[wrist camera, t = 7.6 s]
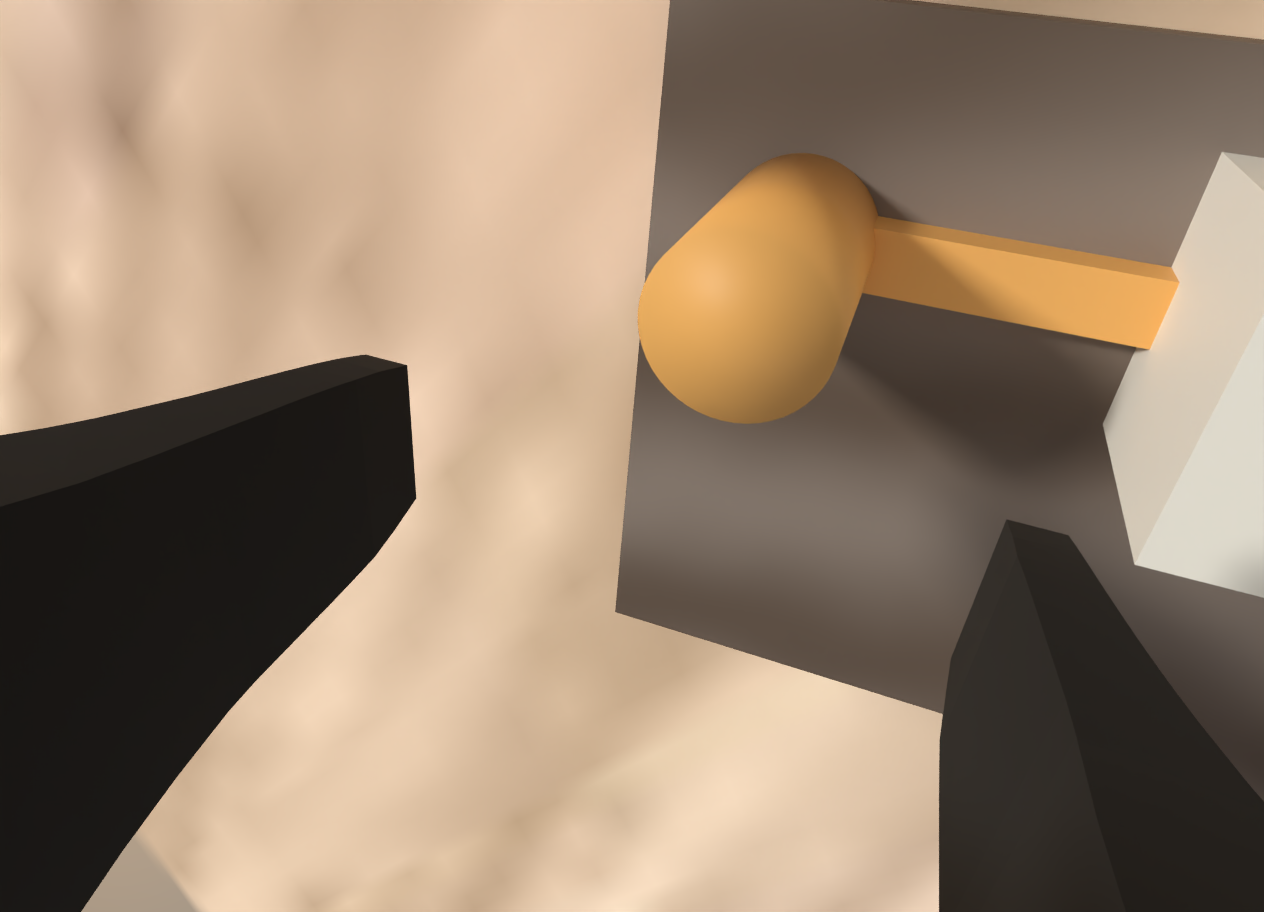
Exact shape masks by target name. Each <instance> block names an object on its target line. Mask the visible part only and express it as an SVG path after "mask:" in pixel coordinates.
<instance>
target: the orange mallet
mask: <svg viewBox="0 0 1264 912" xmlns="http://www.w3.org/2000/svg"><path fill="white" fill-rule="evenodd" d="M862 293H866V294H871V295H876V296H881V297H886V298H891V299H896V300H901V301H906V302H911V303H916V304H921V305H926V306H931V307H936V308H941V309H946V310H951V311H957V312H962V313H967V314H972V315H977V316H982V317H987V318H992V319H997V320H1002V321H1007V322H1012V323H1017V324H1022V325H1027V326H1032V327H1037V328H1042V329H1047V330H1053V331H1058V332H1063V333H1068V334H1073V335H1078V336H1083V337H1088V338H1093V339H1098V340H1103V341H1108V342H1113V343H1118V344H1123V345H1128V346H1133V347H1136V349H1135V352H1134V354H1133V356H1132V358H1131V361H1130V363H1129V365H1128V368H1127V370H1126V372H1125V374H1124V377H1123V379H1122V381H1121V384H1120V386H1119V388H1118V390H1117V393H1116V395H1115V397H1114V400H1113V402H1112V404H1111V406H1110V409H1109V411H1108V413H1107V416H1106V418H1105V420H1104V422H1103V427H1104V432H1105V436H1106V441H1107V445H1108V450H1109V454H1110V458H1111V463H1112V467H1113V472H1114V476H1115V481H1116V485H1117V489H1118V494H1119V498H1120V503H1121V507H1122V512H1123V516H1124V520H1125V525H1126V529H1127V534H1128V538H1129V542H1130V547H1131V551H1132V556H1133V560H1134V565H1138V566H1142V567H1145V568H1149V569H1153V570H1157V571H1161V572H1165V573H1169V574H1173V575H1177V576H1181V577H1185V578H1188V579H1192V580H1196V581H1200V582H1204V583H1208V584H1212V585H1216V586H1220V587H1224V588H1228V589H1231V590H1235V591H1239V592H1243V593H1247V594H1251V595H1255V596H1259V597H1263V598H1264V158H1261V157H1254V156H1247V155H1240V154H1233V153H1226V152H1222V153H1221V155H1220V158H1219V160H1218V162H1217V164H1216V167H1215V169H1214V171H1213V174H1212V176H1211V178H1210V180H1209V183H1208V185H1207V187H1206V190H1205V192H1204V194H1203V196H1202V199H1201V201H1200V203H1199V206H1198V208H1197V210H1196V212H1195V215H1194V217H1193V219H1192V222H1191V224H1190V226H1189V228H1188V231H1187V233H1186V235H1185V238H1184V240H1183V242H1182V244H1181V247H1180V249H1179V251H1178V253H1177V256H1176V258H1175V260H1174V263H1173V265H1172V267H1167V266H1161V265H1155V264H1149V263H1144V262H1138V261H1132V260H1126V259H1121V258H1115V257H1109V256H1104V255H1098V254H1092V253H1086V252H1081V251H1075V250H1069V249H1064V248H1058V247H1052V246H1046V245H1041V244H1035V243H1029V242H1024V241H1018V240H1012V239H1006V238H1001V237H995V236H989V235H984V234H978V233H972V232H966V231H961V230H955V229H949V228H944V227H938V226H932V225H926V224H921V223H915V222H909V221H904V220H898V219H892V218H886V217H881V216H878V213H877V209H876V206H875V203H874V201H873V198H872V196H871V194H870V193H869V191H868V189H867V187H866V186H865V185H864V184H863V182H862V181H861V180H860V179H859V178H858V177H857V176H856V175H855V174H854V173H853V172H852V171H851V170H849V169H848V168H847V167H845V166H844V165H842V164H841V163H839V162H837V161H835V160H833V159H830V158H827V157H825V156H821V155H817V154H810V153H792V154H786V155H781V156H778V157H775V158H772V159H770V160H768V161H766V162H764V163H762V164H760V165H759V166H757V167H756V168H754V169H753V170H752V171H750V172H749V173H748V174H747V175H746V176H745V177H744V178H743V179H742V180H741V181H740V182H739V183H738V184H737V185H736V186H735V187H733V188H732V189H731V190H730V191H729V192H728V193H727V194H726V195H725V196H724V197H723V198H722V199H721V200H720V201H719V202H718V203H717V204H716V205H715V206H714V207H713V208H712V209H711V210H710V211H709V212H708V213H707V214H706V215H705V216H704V217H702V218H701V219H700V220H699V221H698V222H697V223H696V224H695V225H694V226H693V227H692V228H691V229H690V230H689V231H688V232H687V233H686V234H685V235H684V236H683V237H682V238H681V239H680V240H679V241H678V242H677V243H676V244H675V245H674V246H673V247H672V248H670V249H669V250H668V251H667V252H666V253H665V254H664V255H663V256H662V258H661V259H660V260H659V261H658V262H657V263H656V264H655V266H654V268H653V269H652V271H651V272H650V274H649V275H648V278H647V280H646V282H645V284H644V286H643V290H642V293H641V296H640V301H639V308H638V329H639V336H640V340H641V345H642V348H643V351H644V353H645V356H646V359H647V361H648V362H649V364H650V366H651V368H652V370H653V372H654V373H655V374H656V376H657V377H658V379H659V380H660V381H661V383H662V384H663V385H664V386H665V387H666V388H667V390H669V391H670V392H671V393H672V394H673V395H674V396H675V397H676V398H677V399H679V400H680V401H681V402H683V403H684V404H685V405H687V406H689V407H690V408H692V409H694V410H695V411H697V412H699V413H702V414H704V415H706V416H709V417H711V418H715V419H718V420H721V421H726V422H732V423H742V424H752V423H763V422H768V421H773V420H776V419H779V418H782V417H785V416H787V415H789V414H791V413H794V412H795V411H797V410H799V409H800V408H802V407H803V406H805V405H806V404H807V403H809V402H810V401H811V400H812V399H813V398H814V397H815V396H816V395H817V394H818V393H819V392H820V391H821V390H822V389H823V387H824V386H825V384H826V383H827V381H828V380H829V378H830V376H831V374H832V372H833V370H834V368H835V366H836V363H837V360H838V358H839V355H840V352H841V349H842V347H843V344H844V341H845V338H846V336H847V333H848V330H849V327H850V325H851V322H852V319H853V317H854V314H855V311H856V308H857V306H858V303H859V300H860V297H861V295H862Z"/></svg>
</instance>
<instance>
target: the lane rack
mask: <svg viewBox="0 0 1264 912" xmlns="http://www.w3.org/2000/svg"><path fill="white" fill-rule="evenodd" d="M1222 152H1226V153H1233V154H1240V155H1247V156H1254V157H1261V158H1264V40H1261V39H1252V38H1243V37H1234V36H1225V35H1216V34H1207V33H1198V32H1189V31H1180V30H1171V29H1162V28H1153V27H1144V26H1135V25H1126V24H1117V23H1108V22H1100V21H1091V20H1082V19H1073V18H1064V17H1055V16H1046V15H1037V14H1028V13H1019V12H1010V11H1001V10H992V9H983V8H974V7H965V6H956V5H948V4H939V3H930V2H921V1H912V0H670V8H669V19H668V30H667V41H666V52H665V63H664V75H663V86H662V97H661V108H660V119H659V130H658V142H657V153H656V164H655V175H654V186H653V197H652V209H651V220H650V231H649V242H648V253H647V264H646V276H645V282H646V280H647V278H648V275H649V274H650V272H651V271H652V269H653V268H654V266H655V264H656V263H657V262H658V261H659V260H660V259H661V258H662V256H663V255H664V254H665V253H666V252H667V251H668V250H669V249H670V248H672V247H673V246H674V245H675V244H676V243H677V242H678V241H679V240H680V239H681V238H682V237H683V236H684V235H685V234H686V233H687V232H688V231H689V230H690V229H691V228H692V227H693V226H694V225H695V224H696V223H697V222H698V221H699V220H700V219H701V218H702V217H704V216H705V215H706V214H707V213H708V212H709V211H710V210H711V209H712V208H713V207H714V206H715V205H716V204H717V203H718V202H719V201H720V200H721V199H722V198H723V197H724V196H725V195H726V194H727V193H728V192H729V191H730V190H731V189H732V188H733V187H735V186H736V185H737V184H738V183H739V182H740V181H741V180H742V179H743V178H744V177H745V176H746V175H747V174H748V173H749V172H750V171H752V170H753V169H754V168H756V167H757V166H759V165H760V164H762V163H764V162H766V161H768V160H770V159H772V158H775V157H778V156H781V155H786V154H792V153H810V154H817V155H821V156H825V157H827V158H830V159H833V160H835V161H837V162H839V163H841V164H842V165H844V166H845V167H847V168H848V169H849V170H851V171H852V172H853V173H854V174H855V175H856V176H857V177H858V178H859V179H860V180H861V181H862V182H863V184H864V185H865V186H866V187H867V189H868V191H869V193H870V194H871V196H872V198H873V201H874V203H875V206H876V209H877V213H878V216H881V217H886V218H892V219H898V220H904V221H909V222H915V223H921V224H926V225H932V226H938V227H944V228H949V229H955V230H961V231H966V232H972V233H978V234H984V235H989V236H995V237H1001V238H1006V239H1012V240H1018V241H1024V242H1029V243H1035V244H1041V245H1046V246H1052V247H1058V248H1064V249H1069V250H1075V251H1081V252H1086V253H1092V254H1098V255H1104V256H1109V257H1115V258H1121V259H1126V260H1132V261H1138V262H1144V263H1149V264H1155V265H1161V266H1167V267H1172V265H1173V263H1174V260H1175V258H1176V256H1177V253H1178V251H1179V249H1180V247H1181V244H1182V242H1183V240H1184V238H1185V235H1186V233H1187V231H1188V228H1189V226H1190V224H1191V222H1192V219H1193V217H1194V215H1195V212H1196V210H1197V208H1198V206H1199V203H1200V201H1201V199H1202V196H1203V194H1204V192H1205V190H1206V187H1207V185H1208V183H1209V180H1210V178H1211V176H1212V174H1213V171H1214V169H1215V167H1216V164H1217V162H1218V160H1219V158H1220V155H1221V153H1222ZM1135 349H1136V347H1133V346H1128V345H1123V344H1118V343H1113V342H1108V341H1103V340H1098V339H1093V338H1088V337H1083V336H1078V335H1073V334H1068V333H1063V332H1058V331H1053V330H1047V329H1042V328H1037V327H1032V326H1027V325H1022V324H1017V323H1012V322H1007V321H1002V320H997V319H992V318H987V317H982V316H977V315H972V314H967V313H962V312H957V311H951V310H946V309H941V308H936V307H931V306H926V305H921V304H916V303H911V302H906V301H901V300H896V299H891V298H886V297H881V296H876V295H871V294H866V293H862V295H861V297H860V300H859V303H858V306H857V308H856V311H855V314H854V317H853V319H852V322H851V325H850V327H849V330H848V333H847V336H846V338H845V341H844V344H843V347H842V349H841V352H840V355H839V358H838V360H837V363H836V366H835V368H834V370H833V372H832V374H831V376H830V378H829V380H828V381H827V383H826V384H825V386H824V387H823V389H822V390H821V391H820V392H819V393H818V394H817V395H816V396H815V397H814V398H813V399H812V400H811V401H810V402H809V403H807V404H806V405H805V406H803V407H802V408H800V409H799V410H797V411H795V412H794V413H791V414H789V415H787V416H785V417H782V418H779V419H776V420H773V421H768V422H763V423H752V424H742V423H732V422H726V421H721V420H718V419H715V418H711V417H709V416H706V415H704V414H702V413H699V412H697V411H695V410H694V409H692V408H690V407H689V406H687V405H685V404H684V403H683V402H681V401H680V400H679V399H677V398H676V397H675V396H674V395H673V394H672V393H671V392H670V391H669V390H667V388H666V387H665V386H664V385H663V384H662V383H661V381H660V380H659V379H658V377H657V376H656V374H655V373H654V372H653V370H652V368H651V366H650V364H649V362H648V361H647V359H646V356H645V353H644V351H643V348H642V345H641V340H640V343H639V354H638V365H637V376H636V387H635V398H634V410H633V421H632V432H631V443H630V454H629V465H628V476H627V488H626V499H625V510H624V521H623V532H622V543H621V555H620V566H619V577H618V588H617V599H616V610H615V612H617V613H621V614H624V615H627V616H630V617H633V618H637V619H640V620H643V621H646V622H649V623H653V624H656V625H659V626H662V627H665V628H669V629H672V630H675V631H678V632H682V633H685V634H688V635H691V636H694V637H698V638H701V639H704V640H707V641H710V642H714V643H717V644H720V645H723V646H726V647H730V648H733V649H736V650H739V651H743V652H746V653H749V654H752V655H755V656H759V657H762V658H765V659H768V660H771V661H775V662H778V663H781V664H784V665H787V666H791V667H794V668H797V669H800V670H804V671H807V672H810V673H813V674H816V675H820V676H823V677H826V678H829V679H832V680H836V681H839V682H842V683H845V684H849V685H852V686H855V687H858V688H861V689H865V690H868V691H871V692H874V693H877V694H881V695H884V696H887V697H890V698H893V699H897V700H900V701H903V702H906V703H910V704H913V705H916V706H919V707H922V708H926V709H929V710H932V711H935V712H938V713H942V714H943V711H944V703H945V696H946V689H947V682H948V675H949V668H950V661H951V657H952V654H953V652H954V649H955V647H956V644H957V642H958V639H959V637H960V634H961V632H962V629H963V627H964V624H965V622H966V619H967V617H968V614H969V612H970V609H971V607H972V604H973V602H974V599H975V597H976V594H977V592H978V589H979V587H980V584H981V582H982V579H983V577H984V574H985V572H986V569H987V567H988V564H989V562H990V559H991V557H992V554H993V552H994V549H995V547H996V544H997V542H998V539H999V537H1000V534H1001V532H1002V529H1003V527H1004V524H1005V522H1006V519H1008V520H1012V521H1015V522H1019V523H1023V524H1027V525H1031V526H1035V527H1039V528H1043V529H1047V530H1051V531H1054V532H1058V533H1062V534H1066V535H1069V537H1070V538H1071V539H1072V541H1073V542H1074V544H1075V545H1076V547H1077V548H1078V550H1079V551H1080V552H1081V554H1082V556H1083V557H1084V559H1085V560H1086V562H1087V563H1088V565H1089V566H1090V568H1091V569H1092V571H1093V572H1094V574H1095V575H1096V577H1097V578H1098V580H1099V582H1100V583H1101V585H1102V586H1103V588H1104V589H1105V591H1106V592H1107V594H1108V595H1109V597H1110V598H1111V600H1112V601H1113V603H1114V604H1115V606H1116V607H1117V609H1118V610H1119V612H1120V613H1121V615H1122V616H1123V618H1124V619H1125V621H1126V622H1127V624H1128V625H1129V627H1130V628H1131V630H1132V631H1133V632H1134V634H1135V635H1136V637H1137V638H1138V640H1139V641H1140V643H1141V644H1142V646H1143V647H1144V648H1145V650H1146V651H1147V653H1148V654H1149V655H1150V657H1151V658H1152V660H1153V661H1154V663H1155V664H1156V665H1157V667H1158V668H1159V670H1160V671H1161V672H1162V674H1163V675H1164V676H1165V678H1166V679H1167V681H1168V682H1169V683H1170V685H1171V686H1172V687H1173V689H1174V690H1175V691H1176V693H1177V694H1178V695H1179V697H1180V698H1181V699H1182V701H1183V702H1184V703H1185V705H1186V706H1187V707H1188V709H1189V710H1190V711H1191V713H1192V714H1193V715H1194V717H1195V718H1196V719H1197V721H1198V722H1199V723H1200V724H1201V725H1202V727H1203V728H1204V729H1205V730H1206V732H1207V733H1208V734H1209V735H1210V737H1211V738H1212V739H1213V740H1214V742H1215V743H1216V744H1217V745H1218V747H1219V748H1220V749H1221V750H1222V752H1223V753H1224V754H1225V755H1226V757H1227V758H1228V759H1229V760H1230V762H1231V763H1232V764H1233V765H1234V766H1235V768H1236V769H1237V770H1238V771H1239V773H1240V774H1241V775H1242V776H1243V778H1244V779H1245V780H1246V781H1247V782H1248V784H1249V785H1250V786H1251V787H1252V788H1253V790H1254V791H1255V792H1256V793H1257V794H1258V795H1259V796H1260V798H1261V799H1262V800H1263V801H1264V598H1263V597H1259V596H1255V595H1251V594H1247V593H1243V592H1239V591H1235V590H1231V589H1228V588H1224V587H1220V586H1216V585H1212V584H1208V583H1204V582H1200V581H1196V580H1192V579H1188V578H1185V577H1181V576H1177V575H1173V574H1169V573H1165V572H1161V571H1157V570H1153V569H1149V568H1145V567H1142V566H1138V565H1134V560H1133V556H1132V551H1131V547H1130V542H1129V538H1128V534H1127V529H1126V525H1125V520H1124V516H1123V512H1122V507H1121V503H1120V498H1119V494H1118V489H1117V485H1116V481H1115V476H1114V472H1113V467H1112V463H1111V458H1110V454H1109V450H1108V445H1107V441H1106V436H1105V432H1104V427H1103V422H1104V420H1105V418H1106V416H1107V413H1108V411H1109V409H1110V406H1111V404H1112V402H1113V400H1114V397H1115V395H1116V393H1117V390H1118V388H1119V386H1120V384H1121V381H1122V379H1123V377H1124V374H1125V372H1126V370H1127V368H1128V365H1129V363H1130V361H1131V358H1132V356H1133V354H1134V352H1135Z"/></svg>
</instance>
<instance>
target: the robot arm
mask: <svg viewBox="0 0 1264 912" xmlns="http://www.w3.org/2000/svg"><path fill="white" fill-rule="evenodd" d="M415 499H416V488H415V473H414V459H413V444H412V429H411V415H410V400H409V385H408V371H407V365H404V364H400V363H396V362H392V361H388V360H384V359H380V358H377V357H373V356H369V355H360V356H353V357H346V358H340V359H335V360H331V361H326V362H321V363H317V364H313V365H308V366H304V367H300V368H296V369H292V370H288V371H284V372H281V373H277V374H273V375H269V376H265V377H261V378H258V379H254V380H250V381H246V382H242V383H239V384H235V385H231V386H227V387H223V388H219V389H216V390H212V391H208V392H204V393H200V394H197V395H193V396H189V397H184V398H180V399H176V400H172V401H167V402H163V403H159V404H155V405H150V406H146V407H142V408H137V409H133V410H129V411H125V412H120V413H116V414H112V415H108V416H103V417H99V418H94V419H89V420H85V421H80V422H75V423H70V424H64V425H59V426H54V427H48V428H43V429H37V430H31V431H25V432H19V433H12V434H6V435H0V912H81V911H82V909H83V908H84V906H85V905H86V903H87V902H88V901H89V899H90V898H91V896H92V895H93V893H94V892H95V890H96V889H97V888H98V886H99V885H100V883H101V882H102V880H103V879H104V877H105V876H106V874H107V873H108V871H109V870H110V868H111V867H112V866H113V864H114V862H115V861H116V860H117V858H118V857H119V855H120V854H121V852H122V851H123V849H124V848H125V847H126V845H127V844H128V843H129V841H130V840H131V838H132V837H133V836H134V835H135V833H136V832H137V830H138V829H139V828H140V826H141V825H142V824H143V822H144V821H145V820H146V818H147V817H148V815H149V814H150V813H151V811H152V810H153V809H154V807H155V806H156V805H157V803H158V802H159V801H160V799H161V798H162V796H163V795H164V794H165V792H166V791H167V790H168V788H169V787H170V786H171V784H172V783H173V781H174V780H175V779H176V777H177V776H178V775H179V774H180V772H181V771H182V770H183V768H184V767H185V766H186V765H187V763H188V762H189V761H190V760H191V758H192V757H193V756H194V754H195V753H196V752H197V751H198V749H199V748H200V747H201V746H202V744H203V743H204V742H205V740H206V739H207V738H208V737H209V735H210V734H211V733H212V732H213V730H214V729H215V728H216V727H217V725H218V724H219V723H220V721H221V720H222V719H223V718H224V716H225V715H226V714H227V713H228V711H229V710H230V709H231V708H232V707H233V706H234V705H235V703H236V702H237V701H238V700H239V699H240V698H241V697H242V696H243V694H244V693H245V692H246V691H247V690H248V689H249V688H250V687H251V686H252V684H253V683H254V682H255V681H256V680H257V679H258V678H259V677H260V676H261V675H262V674H263V673H264V672H265V671H266V670H267V669H268V668H269V667H270V666H271V665H272V664H273V663H274V661H275V660H276V659H277V658H278V657H279V656H280V655H281V654H282V653H283V652H284V651H285V650H286V649H287V648H288V647H289V646H290V645H291V644H292V643H293V642H294V641H295V640H296V639H297V638H298V637H299V636H300V635H301V634H302V633H303V632H304V631H305V630H306V629H307V627H308V626H309V625H310V624H311V623H312V622H313V621H314V620H315V619H316V618H317V617H318V616H319V615H320V614H321V613H322V612H323V611H324V610H325V609H326V608H327V607H328V606H329V605H330V604H331V603H332V602H333V601H334V600H335V599H336V598H337V597H338V595H339V594H340V593H341V592H342V591H343V590H344V589H345V588H346V587H347V586H348V585H349V584H350V583H351V582H352V581H353V580H354V579H355V578H356V576H357V575H358V574H359V573H360V572H361V571H362V570H363V569H364V568H365V567H366V566H367V565H368V564H369V562H370V561H371V560H372V559H373V558H374V557H375V556H376V554H377V553H378V552H379V550H380V549H381V548H382V546H383V545H384V544H385V542H386V541H387V540H388V538H389V537H390V536H391V534H392V533H393V532H394V530H395V529H396V527H397V526H398V524H399V523H400V521H401V520H402V518H403V517H404V515H405V514H406V513H407V511H408V510H409V508H410V507H411V505H412V504H413V502H414V501H415ZM939 912H1264V801H1263V800H1262V799H1261V798H1260V796H1259V795H1258V794H1257V793H1256V792H1255V791H1254V790H1253V788H1252V787H1251V786H1250V785H1249V784H1248V782H1247V781H1246V780H1245V779H1244V778H1243V776H1242V775H1241V774H1240V773H1239V771H1238V770H1237V769H1236V768H1235V766H1234V765H1233V764H1232V763H1231V762H1230V760H1229V759H1228V758H1227V757H1226V755H1225V754H1224V753H1223V752H1222V750H1221V749H1220V748H1219V747H1218V745H1217V744H1216V743H1215V742H1214V740H1213V739H1212V738H1211V737H1210V735H1209V734H1208V733H1207V732H1206V730H1205V729H1204V728H1203V727H1202V725H1201V724H1200V723H1199V722H1198V721H1197V719H1196V718H1195V717H1194V715H1193V714H1192V713H1191V711H1190V710H1189V709H1188V707H1187V706H1186V705H1185V703H1184V702H1183V701H1182V699H1181V698H1180V697H1179V695H1178V694H1177V693H1176V691H1175V690H1174V689H1173V687H1172V686H1171V685H1170V683H1169V682H1168V681H1167V679H1166V678H1165V676H1164V675H1163V674H1162V672H1161V671H1160V670H1159V668H1158V667H1157V665H1156V664H1155V663H1154V661H1153V660H1152V658H1151V657H1150V655H1149V654H1148V653H1147V651H1146V650H1145V648H1144V647H1143V646H1142V644H1141V643H1140V641H1139V640H1138V638H1137V637H1136V635H1135V634H1134V632H1133V631H1132V630H1131V628H1130V627H1129V625H1128V624H1127V622H1126V621H1125V619H1124V618H1123V616H1122V615H1121V613H1120V612H1119V610H1118V609H1117V607H1116V606H1115V604H1114V603H1113V601H1112V600H1111V598H1110V597H1109V595H1108V594H1107V592H1106V591H1105V589H1104V588H1103V586H1102V585H1101V583H1100V582H1099V580H1098V578H1097V577H1096V575H1095V574H1094V572H1093V571H1092V569H1091V568H1090V566H1089V565H1088V563H1087V562H1086V560H1085V559H1084V557H1083V556H1082V554H1081V552H1080V551H1079V550H1078V548H1077V547H1076V545H1075V544H1074V542H1073V541H1072V539H1071V538H1070V537H1069V535H1066V534H1062V533H1058V532H1054V531H1051V530H1047V529H1043V528H1039V527H1035V526H1031V525H1027V524H1023V523H1019V522H1015V521H1012V520H1008V519H1006V522H1005V524H1004V527H1003V529H1002V532H1001V534H1000V537H999V539H998V542H997V544H996V547H995V549H994V552H993V554H992V557H991V559H990V562H989V564H988V567H987V569H986V572H985V574H984V577H983V579H982V582H981V584H980V587H979V589H978V592H977V594H976V597H975V599H974V602H973V604H972V607H971V609H970V612H969V614H968V617H967V619H966V622H965V624H964V627H963V629H962V632H961V634H960V637H959V639H958V642H957V644H956V647H955V649H954V652H953V654H952V657H951V661H950V668H949V675H948V682H947V689H946V696H945V703H944V711H943V719H942V727H941V734H940V761H939Z"/></svg>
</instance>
